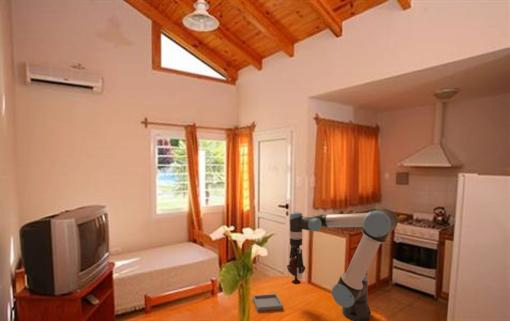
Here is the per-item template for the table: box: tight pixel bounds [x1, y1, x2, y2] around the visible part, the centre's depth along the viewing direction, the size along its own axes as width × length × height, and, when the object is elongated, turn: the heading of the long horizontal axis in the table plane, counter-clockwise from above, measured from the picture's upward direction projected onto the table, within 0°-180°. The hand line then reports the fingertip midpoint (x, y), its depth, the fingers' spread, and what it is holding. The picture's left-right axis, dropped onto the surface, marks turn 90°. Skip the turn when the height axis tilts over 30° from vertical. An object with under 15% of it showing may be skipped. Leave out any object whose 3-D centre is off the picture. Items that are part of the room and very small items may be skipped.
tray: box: [252, 293, 284, 313], centre depth 163 cm, size 15×15×2 cm
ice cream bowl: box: [286, 257, 306, 285], centre depth 165 cm, size 11×11×15 cm
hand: (296, 274), depth 165 cm, fingers closed on ice cream bowl, 11 cm apart
